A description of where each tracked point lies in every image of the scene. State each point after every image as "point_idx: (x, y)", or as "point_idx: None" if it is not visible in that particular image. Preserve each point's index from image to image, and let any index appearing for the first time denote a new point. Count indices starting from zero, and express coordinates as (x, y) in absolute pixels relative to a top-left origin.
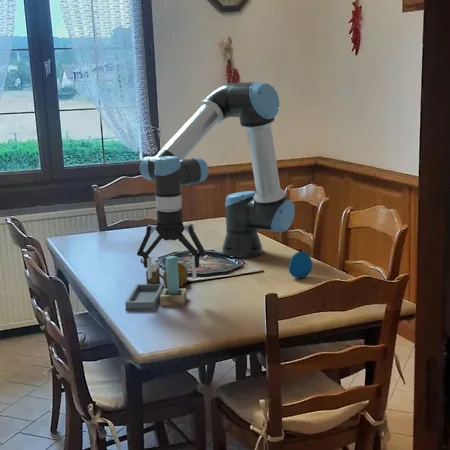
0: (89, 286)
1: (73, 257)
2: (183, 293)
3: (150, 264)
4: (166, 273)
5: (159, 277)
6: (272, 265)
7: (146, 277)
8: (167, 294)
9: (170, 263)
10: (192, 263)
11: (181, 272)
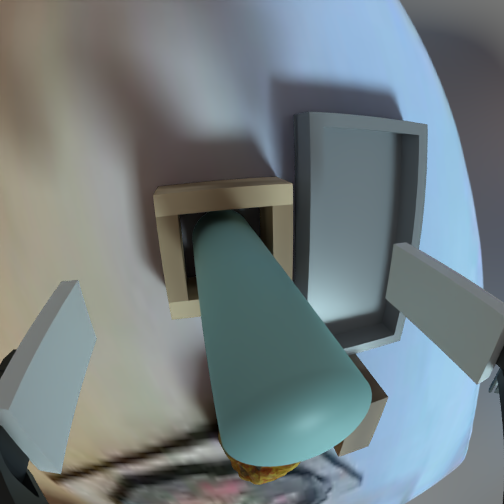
0: None
1: (461, 435)
2: (164, 242)
3: (452, 316)
4: None
5: None
6: (57, 496)
7: (375, 381)
8: None
9: (293, 333)
10: (26, 364)
11: None
